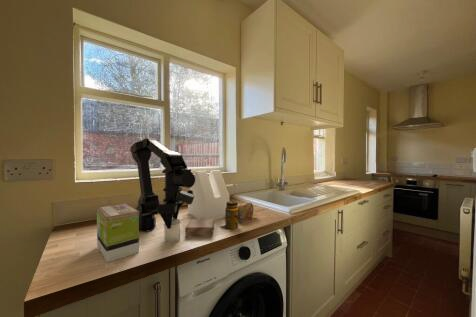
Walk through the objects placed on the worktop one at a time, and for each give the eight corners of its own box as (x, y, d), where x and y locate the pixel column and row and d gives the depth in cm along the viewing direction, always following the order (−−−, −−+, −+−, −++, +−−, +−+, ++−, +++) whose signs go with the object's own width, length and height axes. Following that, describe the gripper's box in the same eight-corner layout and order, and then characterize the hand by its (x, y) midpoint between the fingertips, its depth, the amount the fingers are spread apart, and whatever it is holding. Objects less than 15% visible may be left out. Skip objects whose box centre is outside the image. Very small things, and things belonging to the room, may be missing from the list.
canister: (162, 243, 78) (162, 223, 78) (166, 237, 84) (167, 218, 84) (178, 243, 78) (178, 223, 78) (181, 236, 84) (181, 218, 84)
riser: (185, 237, 84) (185, 227, 84) (190, 227, 95) (190, 219, 95) (212, 236, 85) (212, 227, 84) (213, 227, 96) (213, 219, 95)
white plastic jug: (188, 213, 119) (188, 170, 119) (210, 209, 129) (210, 169, 129) (205, 221, 104) (205, 172, 104) (229, 216, 114) (229, 171, 114)
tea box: (96, 247, 74) (96, 206, 74) (126, 239, 81) (126, 202, 81) (106, 263, 63) (106, 215, 63) (140, 252, 70) (140, 210, 70)
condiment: (241, 228, 95) (242, 202, 95) (226, 232, 90) (226, 205, 90) (233, 224, 101) (233, 199, 101) (218, 227, 96) (218, 201, 96)
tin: (239, 224, 101) (240, 207, 101) (234, 223, 102) (234, 206, 102) (253, 216, 113) (254, 201, 113) (248, 215, 115) (249, 200, 115)
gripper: (188, 189, 72) (188, 233, 72) (196, 182, 91) (196, 217, 91) (156, 188, 71) (156, 233, 72) (171, 182, 90) (170, 217, 90)
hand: (172, 224), depth 81 cm, fingers open, 9 cm apart
